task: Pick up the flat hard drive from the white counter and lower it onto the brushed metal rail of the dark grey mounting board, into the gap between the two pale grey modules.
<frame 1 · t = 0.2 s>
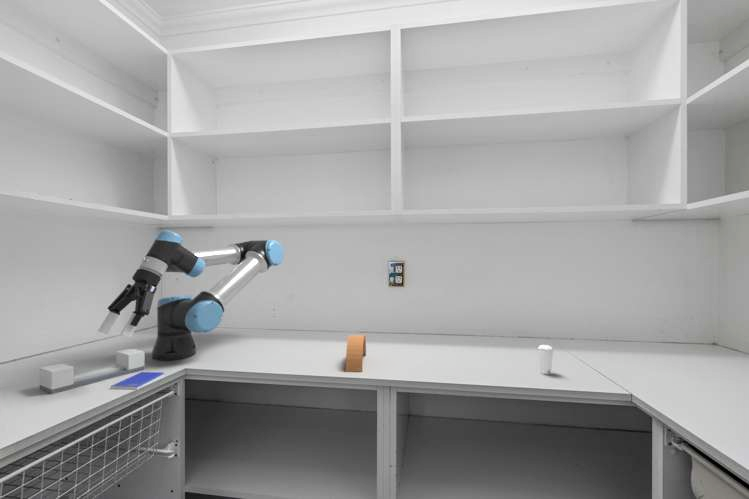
hand: (113, 334, 110), 15 cm above the worktop, tool tilted 30°, fingers open, 13 cm apart
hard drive: (138, 384, 111), on the worktop
arch: (356, 363, 130), on the worktop
rail board: (96, 378, 114), on the worktop
milkshake: (546, 374, 118), on the worktop
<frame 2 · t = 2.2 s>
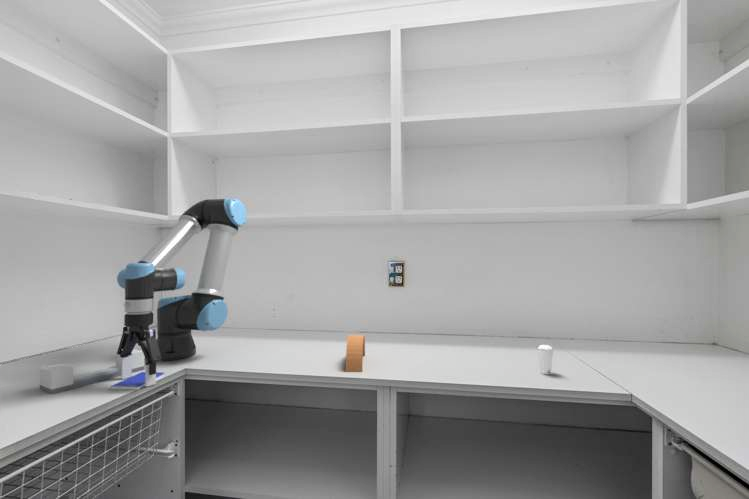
hand: (138, 381, 111), 0 cm above the worktop, tool pointing down, fingers open, 13 cm apart
nothing on the worktop moved.
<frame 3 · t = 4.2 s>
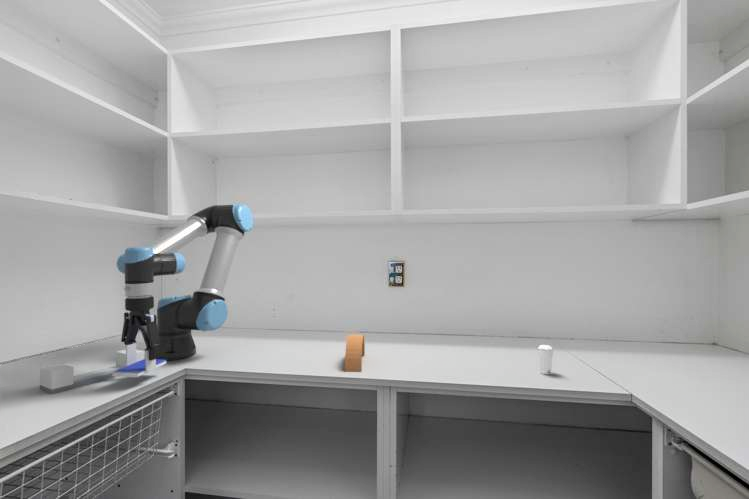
hand: (140, 367, 112), 4 cm above the worktop, tool pointing down, fingers closed on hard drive, 10 cm apart
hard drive: (140, 370, 112), point 3 cm above the worktop, touching gripper
everything else where it was.
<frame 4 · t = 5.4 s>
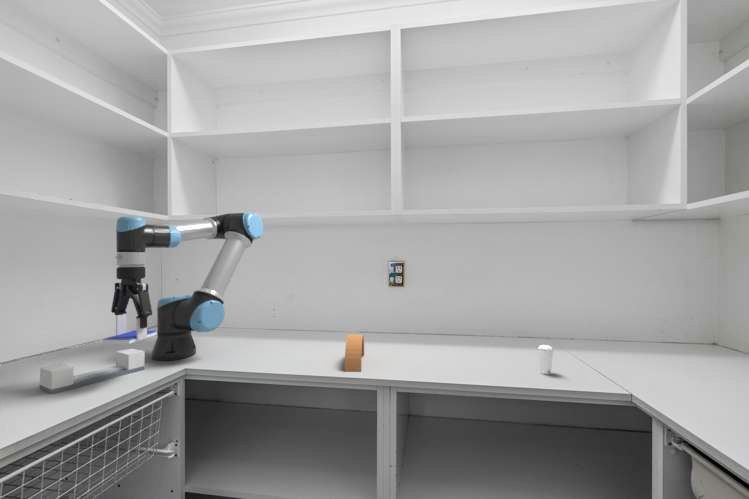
hand: (131, 336, 112), 14 cm above the worktop, tool pointing down, fingers closed on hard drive, 10 cm apart
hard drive: (131, 340, 112), point 13 cm above the worktop, touching gripper
everything else where it was.
when the fingers open (7 cm above the worktop, at t = 6.9 s): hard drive drops 3 cm, resting on rail board.
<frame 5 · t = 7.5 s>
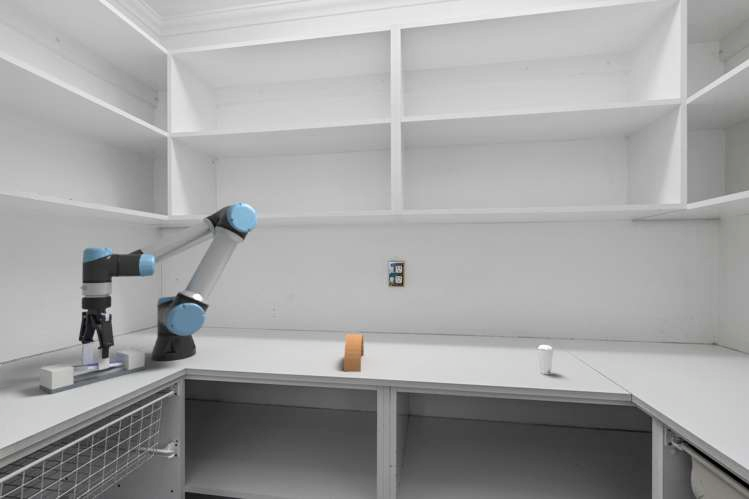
hand: (95, 366, 114), 4 cm above the worktop, tool pointing down, fingers open, 10 cm apart
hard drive: (94, 369, 114), point 3 cm above the worktop, touching gripper, rail board
everything else where it was.
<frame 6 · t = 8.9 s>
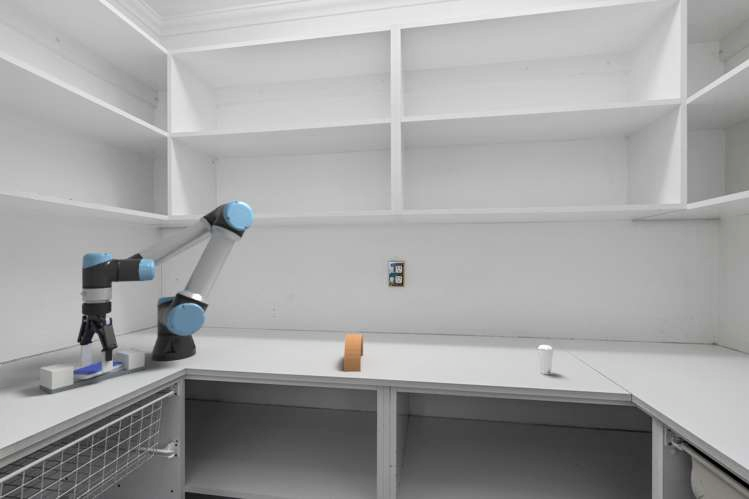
hand: (96, 368, 114), 3 cm above the worktop, tool pointing down, fingers open, 13 cm apart
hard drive: (94, 372, 114), point 2 cm above the worktop, touching rail board
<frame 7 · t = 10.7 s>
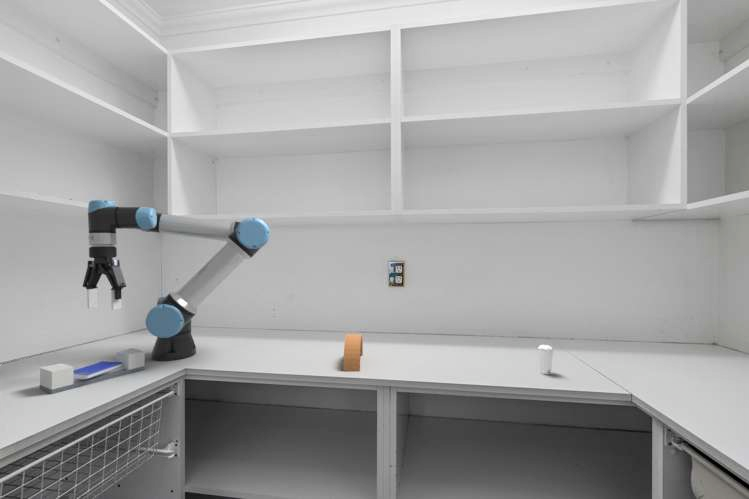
hand: (104, 308, 122), 21 cm above the worktop, tool pointing down, fingers open, 13 cm apart
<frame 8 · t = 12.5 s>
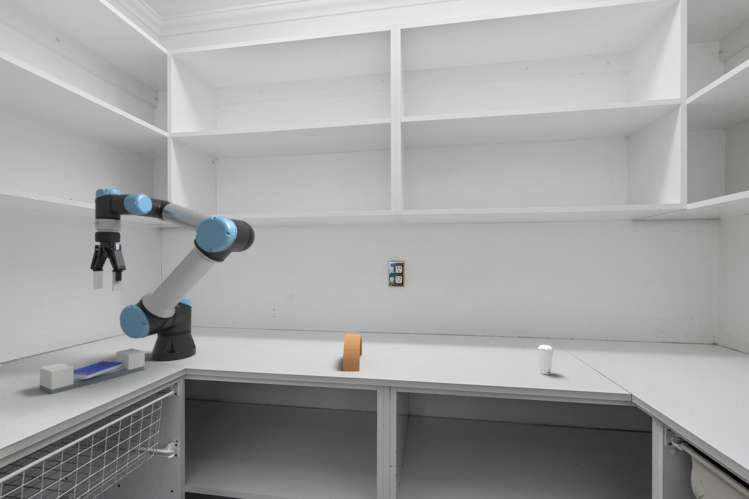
hand: (107, 289, 131), 27 cm above the worktop, tool pointing down, fingers open, 13 cm apart
at the end: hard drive 0.5 cm off-centre on the rail board, point 1.8 cm above the rail board's base; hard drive tilted 0°; the gripper is holding nothing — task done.
